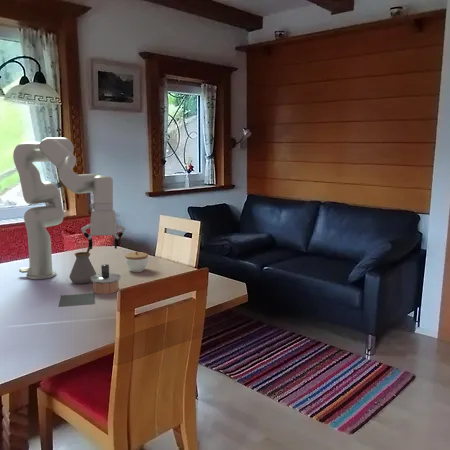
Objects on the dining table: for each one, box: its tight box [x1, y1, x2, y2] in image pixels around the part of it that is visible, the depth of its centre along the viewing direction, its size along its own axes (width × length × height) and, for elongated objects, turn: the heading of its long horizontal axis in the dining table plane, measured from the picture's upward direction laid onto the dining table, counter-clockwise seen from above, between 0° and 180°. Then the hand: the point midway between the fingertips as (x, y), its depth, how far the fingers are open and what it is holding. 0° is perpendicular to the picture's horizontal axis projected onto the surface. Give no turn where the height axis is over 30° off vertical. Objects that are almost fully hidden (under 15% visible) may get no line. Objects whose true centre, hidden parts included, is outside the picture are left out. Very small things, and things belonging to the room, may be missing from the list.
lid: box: [90, 263, 121, 283], centre depth 186 cm, size 12×12×6 cm
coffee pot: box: [69, 241, 97, 285], centre depth 202 cm, size 21×12×15 cm, turn 0°
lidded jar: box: [124, 250, 149, 273], centre depth 218 cm, size 11×11×9 cm
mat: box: [58, 292, 96, 308], centre depth 175 cm, size 13×13×1 cm
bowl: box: [92, 280, 120, 295], centre depth 187 cm, size 10×10×5 cm
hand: (103, 248), depth 185 cm, fingers open, 9 cm apart
